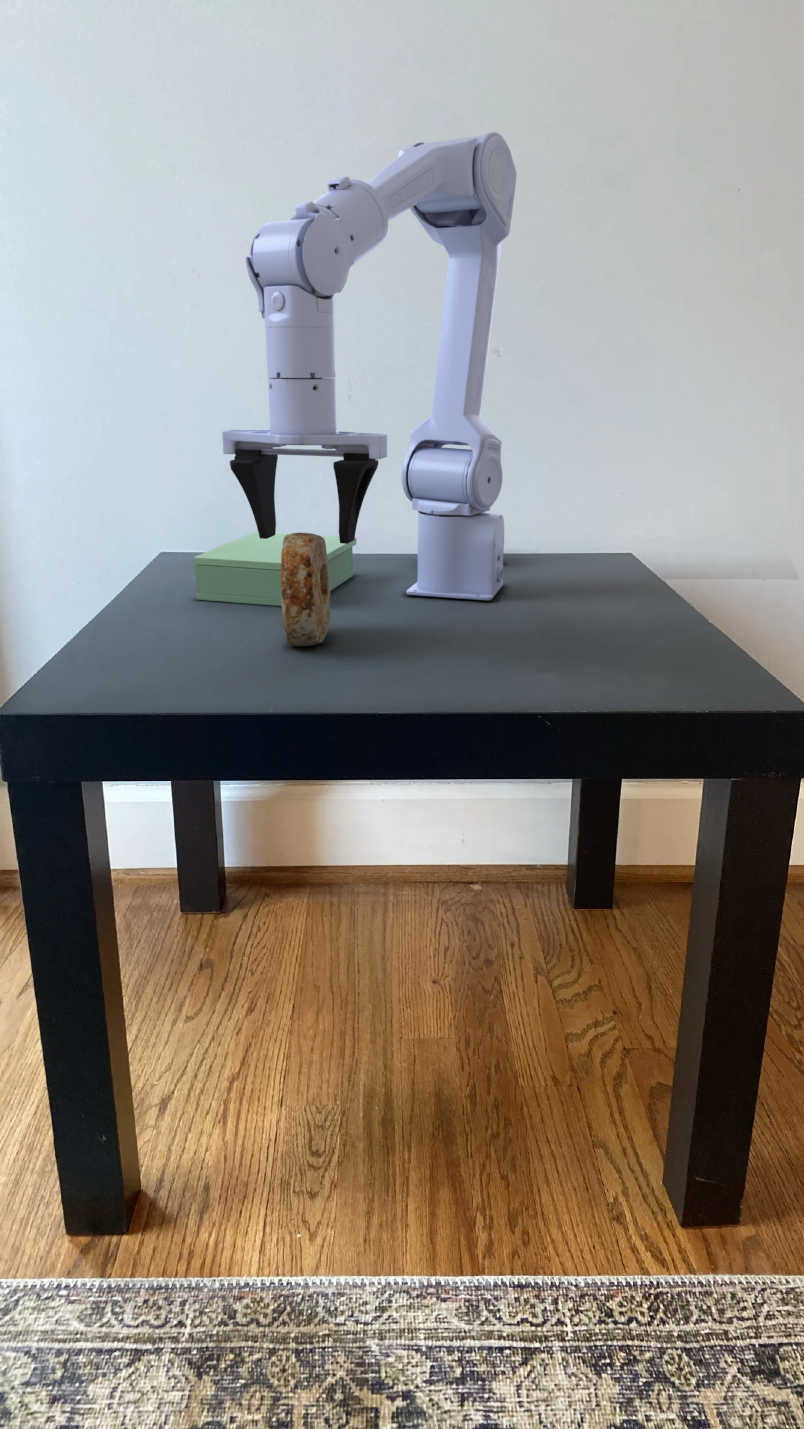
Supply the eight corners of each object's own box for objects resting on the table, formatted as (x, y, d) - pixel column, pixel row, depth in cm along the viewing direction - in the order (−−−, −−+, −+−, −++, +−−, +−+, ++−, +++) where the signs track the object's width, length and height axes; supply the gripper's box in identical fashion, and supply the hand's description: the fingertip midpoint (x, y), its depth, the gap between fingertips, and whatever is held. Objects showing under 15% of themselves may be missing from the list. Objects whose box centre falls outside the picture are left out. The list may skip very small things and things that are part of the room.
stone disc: (319, 659, 82) (315, 545, 79) (277, 658, 83) (272, 544, 79) (336, 626, 92) (334, 524, 88) (298, 625, 92) (294, 523, 89)
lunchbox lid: (356, 544, 111) (356, 537, 111) (308, 572, 97) (308, 564, 97) (254, 538, 114) (254, 531, 114) (193, 564, 100) (193, 557, 100)
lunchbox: (353, 576, 113) (352, 544, 111) (305, 608, 99) (304, 572, 97) (256, 569, 116) (254, 538, 114) (196, 599, 102) (193, 565, 100)
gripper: (201, 378, 78) (213, 542, 83) (368, 380, 74) (370, 552, 79) (238, 376, 84) (247, 529, 89) (394, 378, 80) (394, 537, 85)
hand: (307, 539), depth 84 cm, fingers open, 7 cm apart
